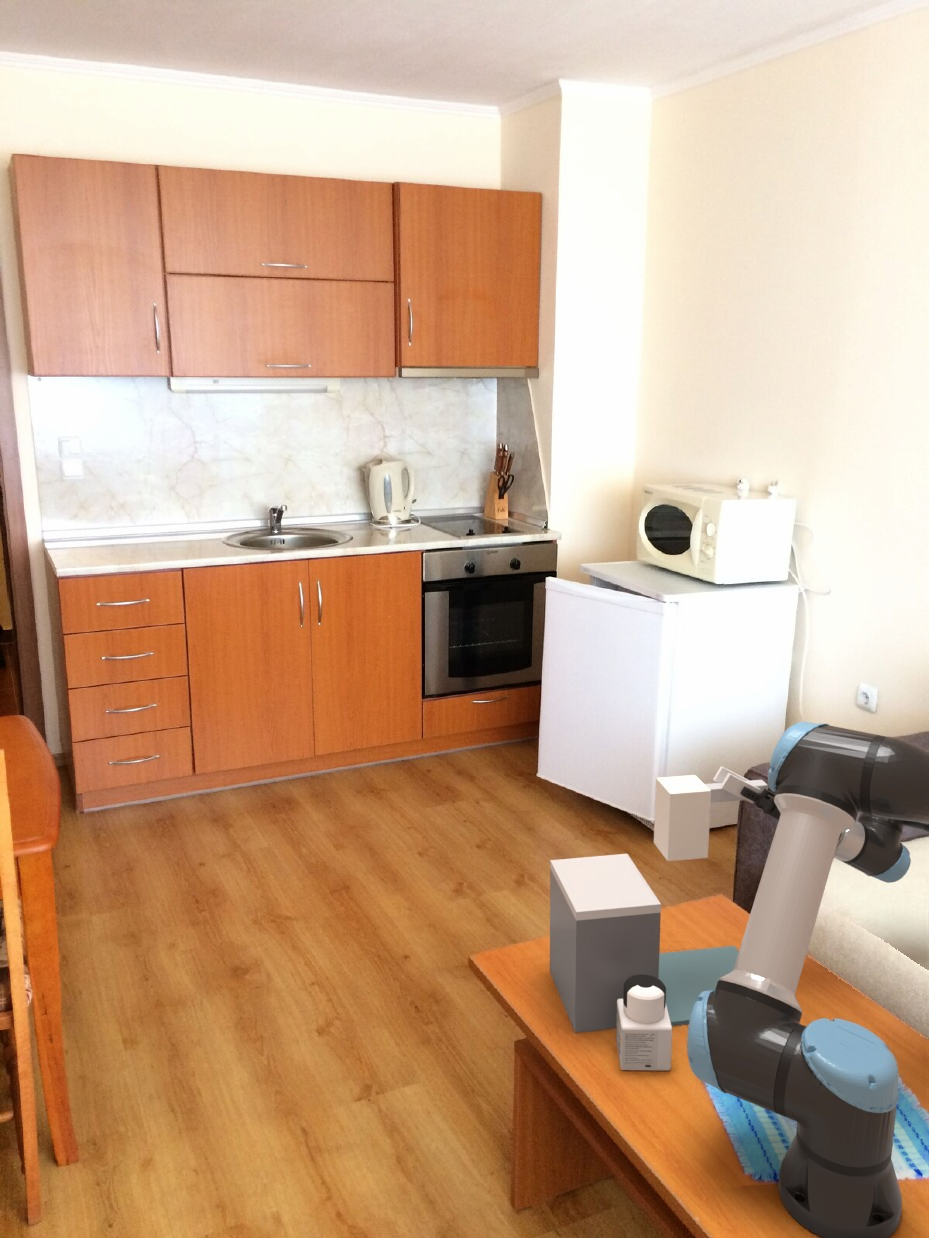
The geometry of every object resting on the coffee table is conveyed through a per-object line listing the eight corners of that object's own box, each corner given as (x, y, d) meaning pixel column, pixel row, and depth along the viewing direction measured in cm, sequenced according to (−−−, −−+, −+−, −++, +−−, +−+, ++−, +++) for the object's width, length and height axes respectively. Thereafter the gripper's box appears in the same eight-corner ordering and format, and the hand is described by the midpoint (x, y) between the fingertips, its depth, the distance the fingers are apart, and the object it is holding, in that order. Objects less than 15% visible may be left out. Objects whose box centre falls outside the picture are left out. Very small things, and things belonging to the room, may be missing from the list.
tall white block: (752, 834, 182) (756, 770, 179) (770, 852, 175) (774, 785, 172) (653, 842, 179) (655, 777, 176) (667, 861, 172) (670, 794, 169)
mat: (734, 949, 194) (734, 945, 194) (781, 1013, 175) (782, 1009, 174) (630, 959, 191) (630, 956, 191) (667, 1026, 172) (667, 1022, 172)
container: (615, 1039, 169) (617, 968, 166) (663, 1039, 168) (666, 968, 165) (620, 1070, 161) (622, 997, 158) (671, 1071, 161) (673, 997, 158)
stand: (624, 963, 190) (627, 853, 184) (657, 1023, 172) (661, 904, 167) (549, 971, 188) (550, 860, 182) (575, 1032, 170) (576, 912, 165)
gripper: (840, 870, 173) (728, 815, 167) (797, 830, 188) (693, 778, 182) (865, 833, 172) (752, 775, 166) (819, 795, 187) (715, 741, 181)
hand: (721, 777), depth 174 cm, fingers closed on tall white block, 2 cm apart
